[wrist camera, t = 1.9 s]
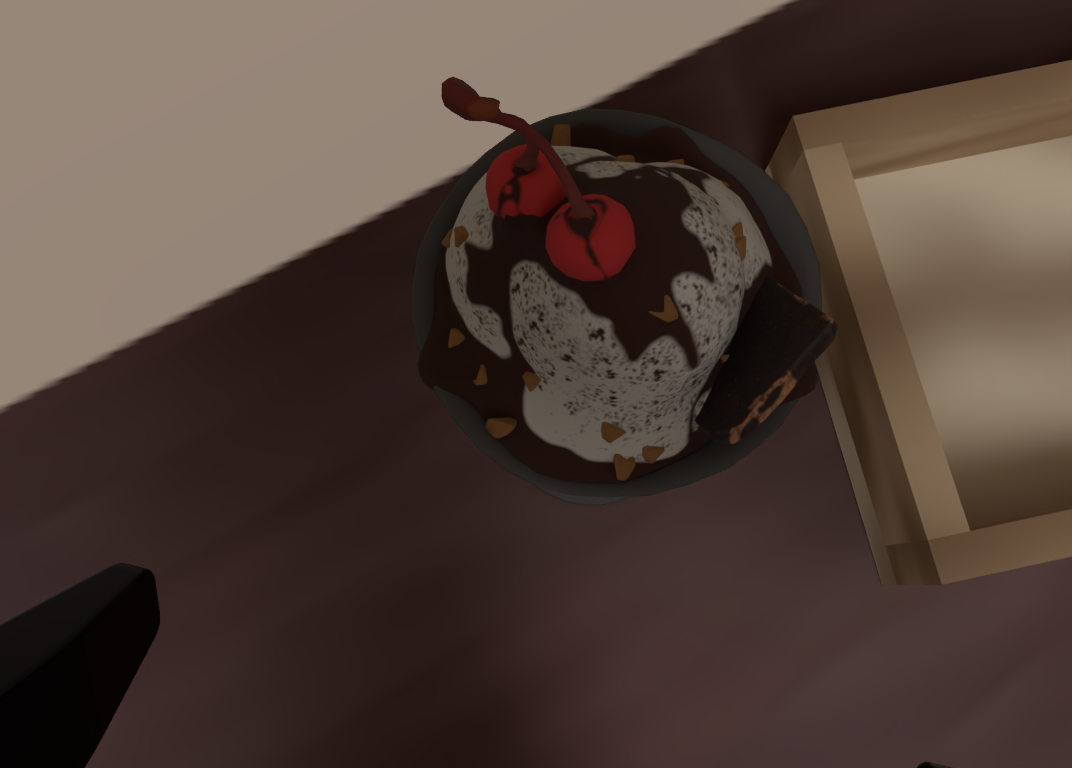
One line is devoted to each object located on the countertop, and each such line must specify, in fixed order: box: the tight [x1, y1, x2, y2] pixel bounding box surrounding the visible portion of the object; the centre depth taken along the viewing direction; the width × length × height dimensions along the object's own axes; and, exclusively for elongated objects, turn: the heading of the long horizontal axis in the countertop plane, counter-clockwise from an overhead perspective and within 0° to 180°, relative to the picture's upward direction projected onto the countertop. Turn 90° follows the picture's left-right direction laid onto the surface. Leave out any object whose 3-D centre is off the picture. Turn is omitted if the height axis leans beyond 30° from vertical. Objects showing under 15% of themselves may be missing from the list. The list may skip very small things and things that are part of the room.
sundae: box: [411, 77, 838, 505], centre depth 16 cm, size 7×7×15 cm
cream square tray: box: [765, 60, 1072, 585], centre depth 22 cm, size 12×12×4 cm
